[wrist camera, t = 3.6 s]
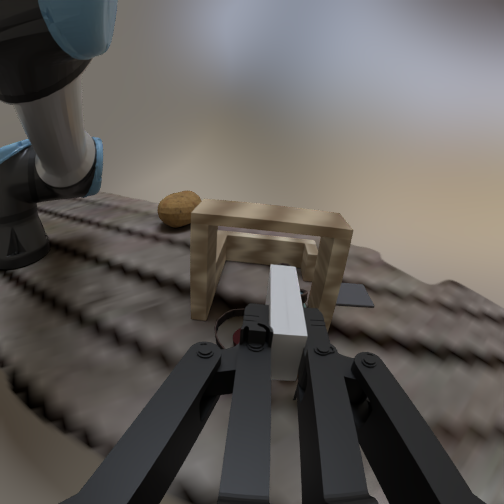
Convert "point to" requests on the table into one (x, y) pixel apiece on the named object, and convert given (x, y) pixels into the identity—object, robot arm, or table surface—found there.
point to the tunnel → (267, 248)
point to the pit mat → (353, 296)
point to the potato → (178, 208)
